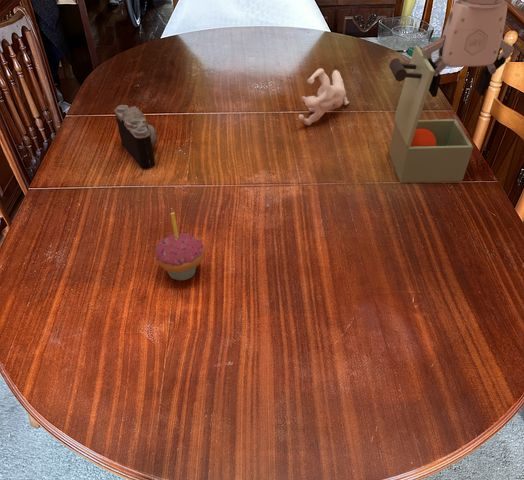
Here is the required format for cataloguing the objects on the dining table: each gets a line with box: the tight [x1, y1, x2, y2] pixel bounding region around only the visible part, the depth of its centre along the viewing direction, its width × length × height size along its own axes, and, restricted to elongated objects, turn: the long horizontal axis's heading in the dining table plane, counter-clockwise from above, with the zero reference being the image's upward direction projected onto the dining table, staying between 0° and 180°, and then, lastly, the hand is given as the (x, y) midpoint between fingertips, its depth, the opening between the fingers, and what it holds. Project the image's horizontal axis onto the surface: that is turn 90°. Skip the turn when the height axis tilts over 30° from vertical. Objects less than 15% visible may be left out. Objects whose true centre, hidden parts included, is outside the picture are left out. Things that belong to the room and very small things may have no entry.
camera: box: [114, 104, 158, 171], centre depth 115 cm, size 15×7×10 cm, turn 31°
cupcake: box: [154, 207, 205, 281], centre depth 86 cm, size 9×8×12 cm
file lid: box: [389, 45, 435, 146], centre depth 102 cm, size 14×13×6 cm
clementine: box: [410, 129, 436, 147], centre depth 112 cm, size 8×7×7 cm
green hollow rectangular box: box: [388, 118, 474, 184], centre depth 111 cm, size 14×13×8 cm
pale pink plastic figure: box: [298, 68, 350, 127], centre depth 127 cm, size 13×13×18 cm
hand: (456, 93), depth 102 cm, fingers open, 9 cm apart
